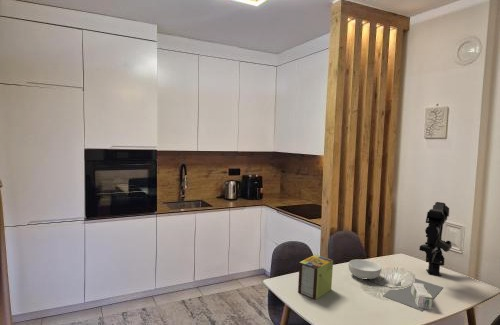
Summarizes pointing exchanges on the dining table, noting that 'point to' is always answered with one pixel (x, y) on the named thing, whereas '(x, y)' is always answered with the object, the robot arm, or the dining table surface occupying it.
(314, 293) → the protein box
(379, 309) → the dining table surface
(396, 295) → the rubber mat
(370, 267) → the cereal bowl
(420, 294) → the syrup box
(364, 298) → the dining table surface
